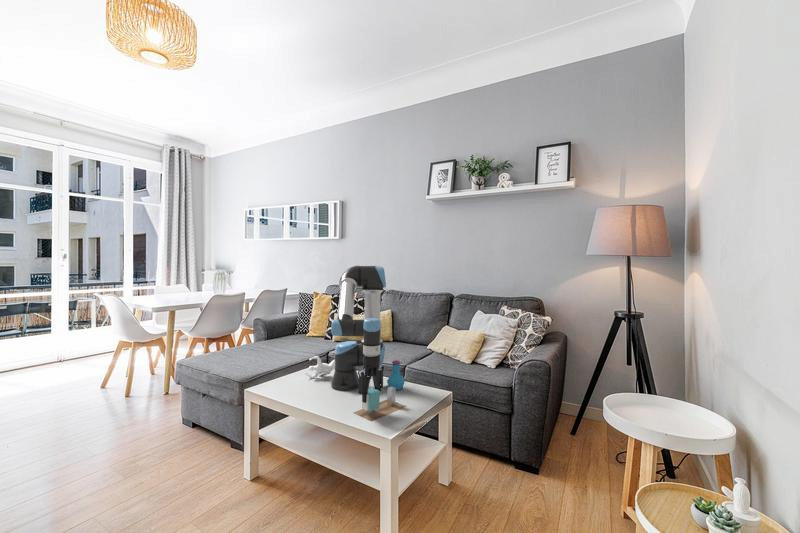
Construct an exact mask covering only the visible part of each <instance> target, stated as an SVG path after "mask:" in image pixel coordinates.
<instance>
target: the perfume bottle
mask: <svg viewBox="0 0 800 533" xmlns="http://www.w3.org/2000/svg"><path fill="white" fill-rule="evenodd" d="M391 364H392V373H391V374H390V376H389V377H388V379H387V380H386V382H387V386H388V388H389V387H391V386H392V387H394V388H396V391H399V390H401V389H403V388H404V384H405V382H406V381H405V379H404V377H403V376H402V375H401V373H400V368H401V367H400V365H401V361H400V360H398V359H397V360H393V361H392V362H391Z"/></svg>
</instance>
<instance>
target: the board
mask: <svg viewBox="0 0 800 533" xmlns="http://www.w3.org/2000/svg"><path fill="white" fill-rule="evenodd" d="M406 407H407V405H405V404H402V403H399V402H396V401H395V405H394V406H392V407H391V406H389V405H387V399H385V400H382V401H379V408H378V409H375V414H372V415H369V414H367V413H366V410H365V409H363V408H362V409H359V410H357V411H354V412H353V414H355V415H357V416H359V417H361V418H363V419H366V420H367V421H370V422H374V421H376V420H378V419H381V418H383V417H385V416H388V415H390V414H392V413H394V412H397V411H399V410H401V409H404V408H406Z"/></svg>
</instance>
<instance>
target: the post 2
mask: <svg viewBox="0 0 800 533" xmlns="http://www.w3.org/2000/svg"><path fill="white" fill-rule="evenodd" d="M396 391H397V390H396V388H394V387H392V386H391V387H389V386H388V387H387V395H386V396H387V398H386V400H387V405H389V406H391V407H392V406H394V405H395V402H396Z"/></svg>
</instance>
